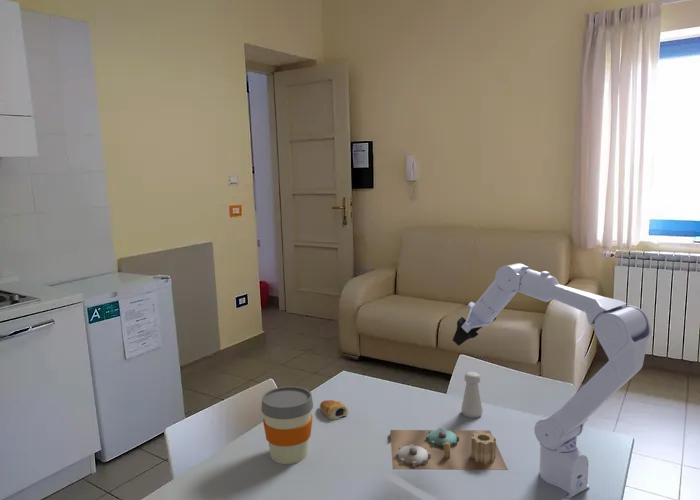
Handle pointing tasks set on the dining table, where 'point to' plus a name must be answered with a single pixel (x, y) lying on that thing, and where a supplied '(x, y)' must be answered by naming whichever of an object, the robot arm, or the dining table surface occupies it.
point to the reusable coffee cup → (287, 422)
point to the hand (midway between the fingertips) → (463, 336)
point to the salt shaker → (472, 396)
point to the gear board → (438, 450)
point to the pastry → (333, 409)
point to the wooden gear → (483, 447)
